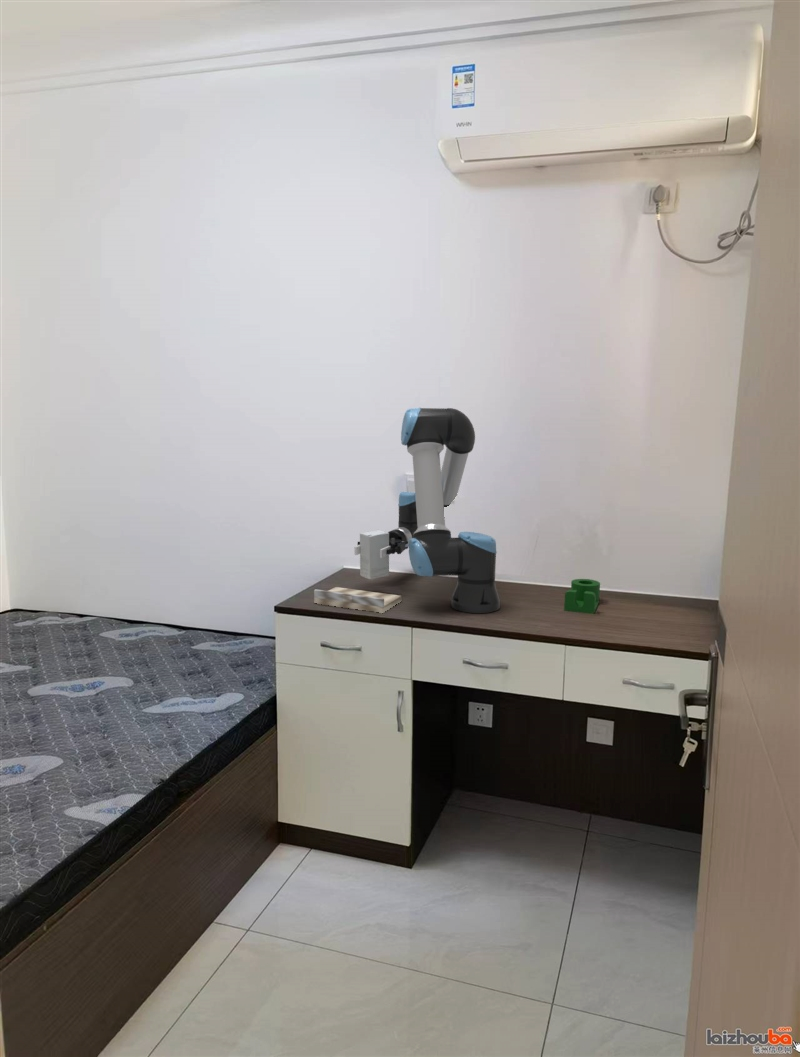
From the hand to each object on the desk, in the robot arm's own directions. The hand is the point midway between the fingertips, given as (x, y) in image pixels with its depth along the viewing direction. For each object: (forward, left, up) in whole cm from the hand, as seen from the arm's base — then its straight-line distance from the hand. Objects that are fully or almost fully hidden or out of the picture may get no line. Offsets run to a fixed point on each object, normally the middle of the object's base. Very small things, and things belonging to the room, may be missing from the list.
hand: (368, 552), depth 246 cm
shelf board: (0, +7, -15) cm, 17 cm away
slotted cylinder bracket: (-65, -23, -15) cm, 71 cm away
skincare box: (0, -5, -9) cm, 10 cm away
